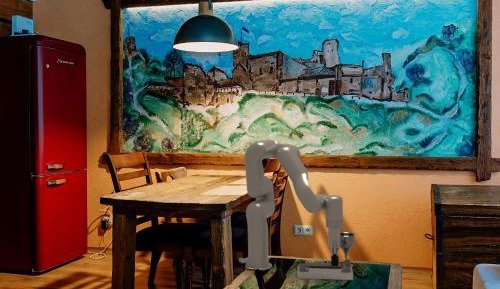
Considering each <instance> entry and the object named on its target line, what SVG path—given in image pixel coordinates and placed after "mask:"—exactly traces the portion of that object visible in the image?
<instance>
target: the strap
mask: <svg viewBox="0 0 500 289" xmlns="http://www.w3.org/2000/svg"><path fill="white" fill-rule="evenodd" d="M343 263H344V262H341V263H340V262H339V265H331V262H305V263H302V264H305V268H332V269H343Z"/></svg>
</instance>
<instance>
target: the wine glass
mask: <svg viewBox="0 0 500 289" xmlns="http://www.w3.org/2000/svg"><path fill="white" fill-rule="evenodd" d="M354 243H355V233H353V232H347V231H346V232H343V231H342V232H340V249H341V250H342V252H343V254H344V260H345V259H348V253H349V252H350V250H351V249H352V248H353V247H354ZM342 263H343V267H345V264H344V262H342ZM350 267H352V268H353V267H354V264H352V263H350Z"/></svg>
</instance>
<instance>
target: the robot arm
mask: <svg viewBox="0 0 500 289" xmlns="http://www.w3.org/2000/svg"><path fill="white" fill-rule="evenodd" d="M270 158H271V159H275V160H277V161H278V162H279V163H280V166H281V167H282V169H283V170H284V172H285V173H286V174H287V176H288V178H289V179H290V181H291V182H292V186H293V190H294V192H295V195H296V197H297V199H298V201H299V202H300V203H301V205H302V206H303V208H304V209H305V210H306V212H308V213H310V214H312V215H314V214H317V213H320V212H322V211H325V227H326V229H327V243H328V244H327V246H328V251H329V252H330V251H331V256H330V263H331V265H339V263H340V262H339V261H340V260H339V256H340V255H339V251H340V249H341V248H340V233H341V229H343V227H344V215H343V214H344V210H343V209H344V207H343V206H344V203H343V197H342V196H341V195H337V194H335V195H334V194H333V195H328V194H323V193H316V194H315V192H314V191H313V190H312V188H311V186H310V183H309V170H308V169H307V168H306V167H305V165H304V163H303V162H302V160H301V151H300V148H298V147H297V146H296V145H293V144H290V143H286V142H281V141H278V140H275V139H264V140H259V141H255V142H253V143H252V144H250V145H249V146H248V147H247V149H246V150H245V152H244V168H245V180H246V182H245V183H246V192H247V195H248V196H249V197H251V198H253V199H255V200H254V201H252V202H250V203H249V204H248V205H247V207H246V210H245V216H246V222H247V243H248V244H247V245H248V246H247V247H248V250H247V251H248V254H247V255H248V256H247V257H246V258H244V257H239V258H238V262H239V263H240V264H245V265H244V268H245V269H247V270H249V269H248V268H249V267H250V268H253V269H259V270H262V271H267V269H268V270H271V269H272V268H273V265H272V263H271V262H269V227H268V221H267V219H268V218H270V217H271V216H273V214H274V213H275V209H276V204H275V203H276V202H275V191H274V190H275V189H274V184H273V181H272V179H270V178H269V177H268V176H266V175H265V173H264V172H265V170H264V166H263V160H264V159H270Z"/></svg>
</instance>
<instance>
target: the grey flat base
mask: <svg viewBox="0 0 500 289" xmlns="http://www.w3.org/2000/svg"><path fill="white" fill-rule="evenodd" d="M343 261H344V262H343V263H344V264H345V267H343V269H332V268H305V264H302V263H306V259H299V263H298V265H297V279H299V280H300V279H302V280H333V281H334V280H335V281H336V280H338V281H339V280H342V281H354V270H353V267H350V264H351V259H349V258H347V259H345V258H344V260H343Z"/></svg>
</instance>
